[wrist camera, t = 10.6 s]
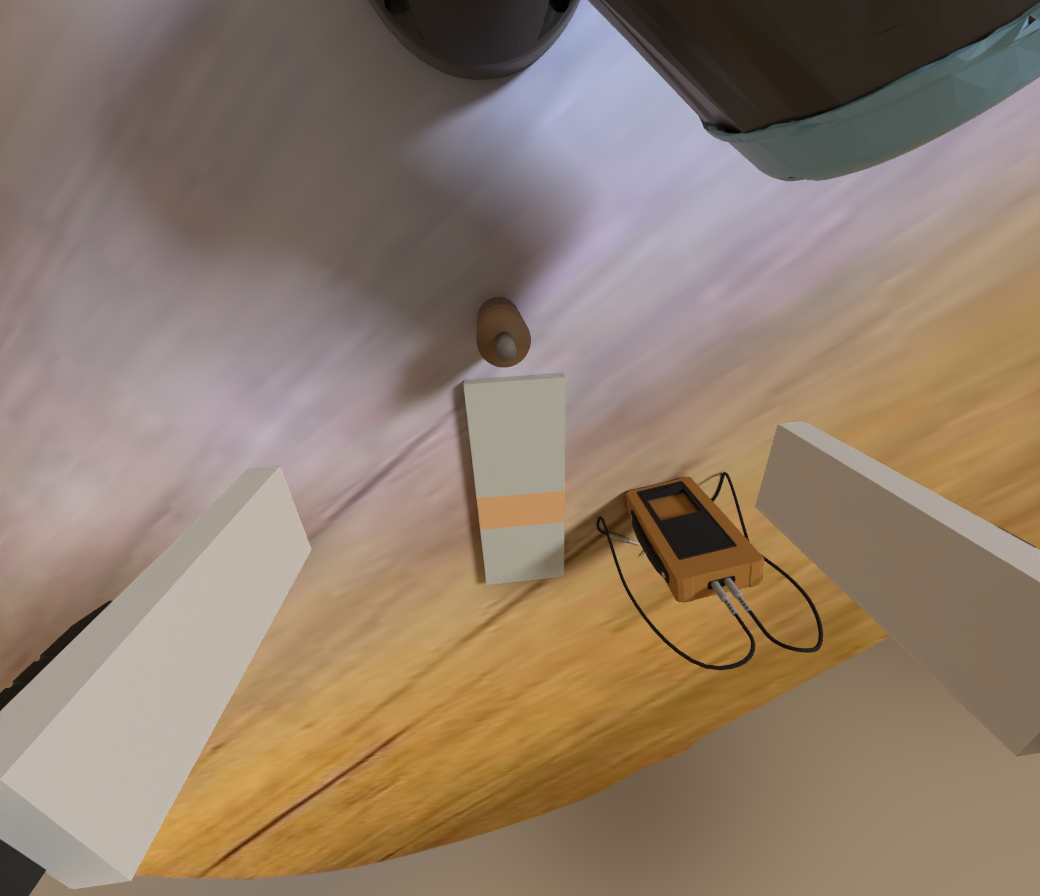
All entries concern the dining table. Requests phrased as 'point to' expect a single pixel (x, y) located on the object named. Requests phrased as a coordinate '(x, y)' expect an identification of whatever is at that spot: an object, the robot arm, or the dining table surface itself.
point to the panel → (519, 474)
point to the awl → (502, 333)
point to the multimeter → (698, 551)
